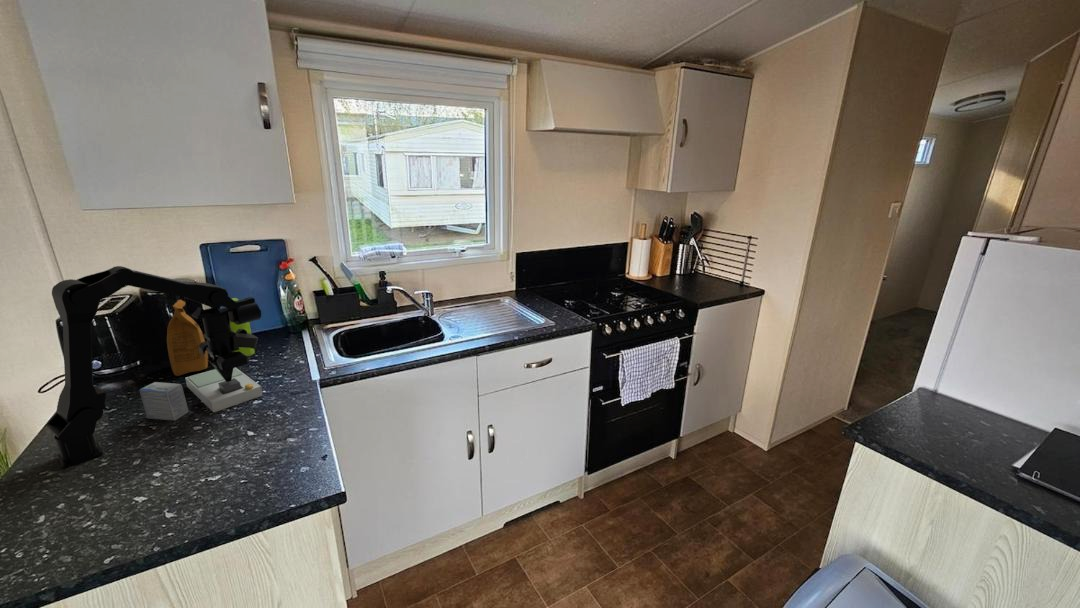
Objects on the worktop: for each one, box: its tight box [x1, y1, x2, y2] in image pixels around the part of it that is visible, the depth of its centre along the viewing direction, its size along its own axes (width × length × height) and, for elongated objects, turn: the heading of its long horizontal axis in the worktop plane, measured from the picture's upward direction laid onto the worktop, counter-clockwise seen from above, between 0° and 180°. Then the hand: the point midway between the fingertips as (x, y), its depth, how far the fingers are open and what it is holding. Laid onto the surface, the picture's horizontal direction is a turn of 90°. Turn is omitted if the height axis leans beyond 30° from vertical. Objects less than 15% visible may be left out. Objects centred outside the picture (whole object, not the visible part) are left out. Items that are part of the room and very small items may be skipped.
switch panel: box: [185, 367, 263, 413], centre depth 127 cm, size 22×12×4 cm, turn 52°
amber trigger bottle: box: [166, 299, 209, 377], centre depth 138 cm, size 10×12×22 cm
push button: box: [218, 378, 241, 395], centre depth 123 cm, size 4×4×3 cm
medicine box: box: [139, 381, 190, 421], centre depth 113 cm, size 8×4×9 cm, turn 84°
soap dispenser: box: [230, 297, 256, 357], centre depth 149 cm, size 6×7×20 cm
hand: (228, 381), depth 122 cm, fingers closed
